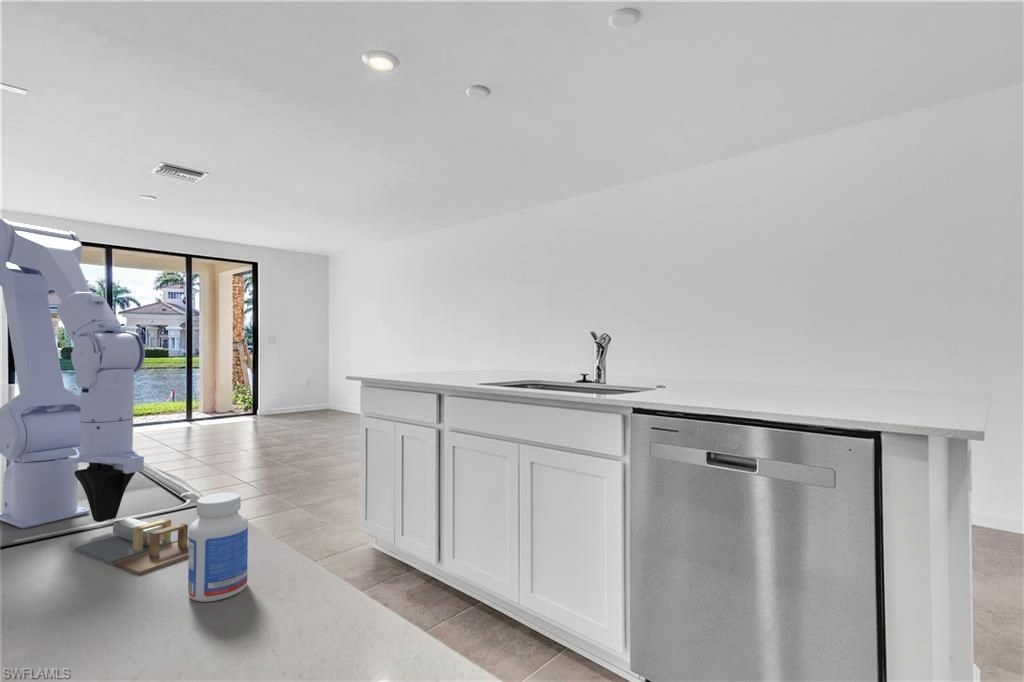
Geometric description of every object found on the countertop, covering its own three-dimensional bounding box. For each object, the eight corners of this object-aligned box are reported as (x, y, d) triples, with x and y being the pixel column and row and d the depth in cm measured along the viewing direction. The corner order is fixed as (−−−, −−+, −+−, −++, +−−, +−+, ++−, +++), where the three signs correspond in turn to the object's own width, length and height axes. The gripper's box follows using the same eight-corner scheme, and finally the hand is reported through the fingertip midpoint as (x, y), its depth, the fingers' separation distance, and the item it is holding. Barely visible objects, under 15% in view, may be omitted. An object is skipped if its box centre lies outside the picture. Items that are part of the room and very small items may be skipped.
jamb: (113, 565, 59) (114, 538, 59) (199, 537, 68) (199, 514, 68) (139, 575, 57) (139, 547, 57) (224, 545, 66) (225, 521, 66)
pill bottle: (258, 580, 56) (259, 491, 56) (225, 605, 51) (227, 506, 51) (211, 577, 57) (213, 489, 57) (174, 601, 51) (176, 504, 51)
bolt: (112, 534, 67) (113, 521, 67) (129, 529, 69) (130, 517, 69) (147, 545, 63) (147, 532, 63) (164, 540, 65) (164, 527, 65)
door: (74, 550, 64) (75, 525, 64) (160, 526, 72) (160, 504, 72) (111, 564, 60) (112, 537, 60) (197, 537, 68) (198, 513, 69)
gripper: (45, 419, 70) (42, 519, 70) (100, 427, 63) (98, 538, 63) (105, 414, 76) (103, 505, 76) (161, 421, 69) (159, 521, 69)
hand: (105, 519), depth 70 cm, fingers closed
